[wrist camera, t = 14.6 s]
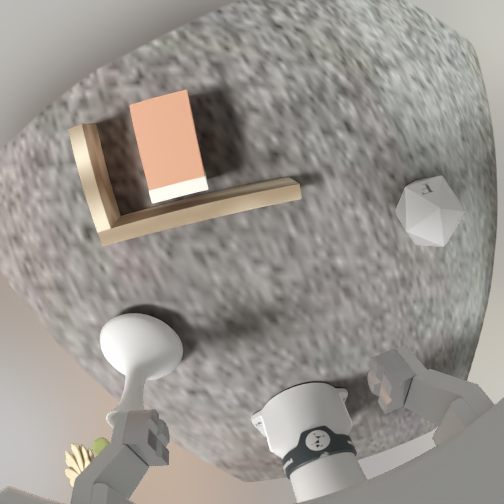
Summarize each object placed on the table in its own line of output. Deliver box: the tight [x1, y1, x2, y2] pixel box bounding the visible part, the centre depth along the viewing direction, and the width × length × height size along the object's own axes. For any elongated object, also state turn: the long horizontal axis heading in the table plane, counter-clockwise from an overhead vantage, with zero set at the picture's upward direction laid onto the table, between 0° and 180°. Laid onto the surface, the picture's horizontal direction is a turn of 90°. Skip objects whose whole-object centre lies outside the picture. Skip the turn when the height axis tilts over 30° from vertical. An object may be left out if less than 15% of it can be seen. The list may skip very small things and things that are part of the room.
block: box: [129, 90, 208, 204], centre depth 25 cm, size 5×9×5 cm, turn 10°
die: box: [395, 175, 465, 247], centre depth 31 cm, size 8×9×10 cm
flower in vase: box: [65, 313, 183, 487], centre depth 25 cm, size 13×11×25 cm
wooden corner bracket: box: [69, 124, 302, 246], centre depth 26 cm, size 12×20×4 cm, turn 100°
